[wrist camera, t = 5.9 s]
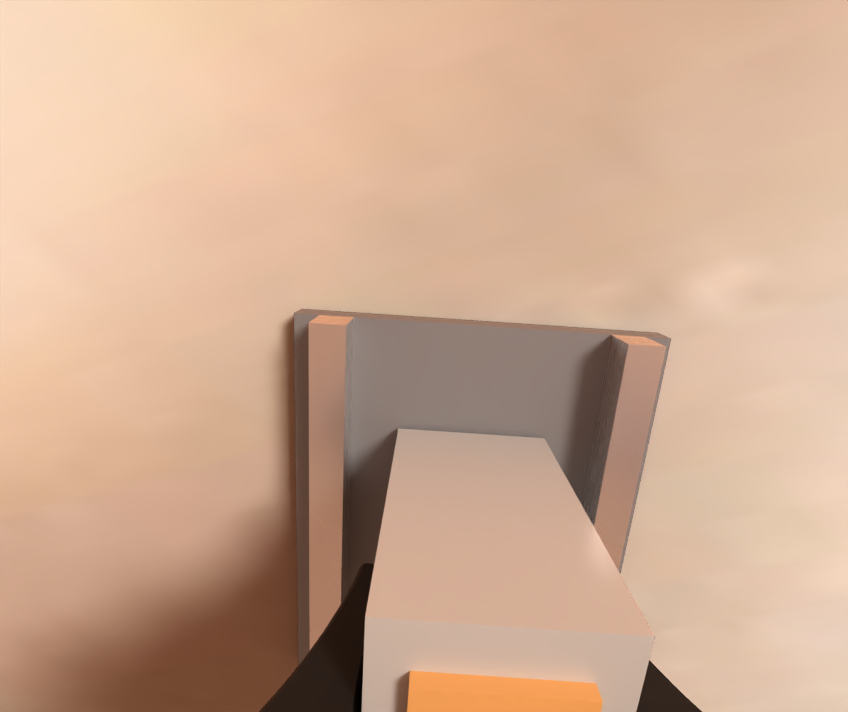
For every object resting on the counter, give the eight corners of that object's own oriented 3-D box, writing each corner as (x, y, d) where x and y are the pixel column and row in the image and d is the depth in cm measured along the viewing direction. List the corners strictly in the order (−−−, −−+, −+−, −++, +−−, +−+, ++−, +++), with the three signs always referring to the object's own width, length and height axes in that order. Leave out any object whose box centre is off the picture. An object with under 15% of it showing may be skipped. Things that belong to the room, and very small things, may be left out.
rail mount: (657, 332, 14) (695, 348, 12) (585, 682, 17) (604, 738, 15) (301, 309, 14) (280, 320, 12) (304, 664, 17) (288, 717, 15)
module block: (544, 438, 14) (664, 654, 7) (517, 621, 15) (588, 945, 8) (398, 428, 14) (362, 633, 7) (388, 613, 15) (351, 930, 8)
